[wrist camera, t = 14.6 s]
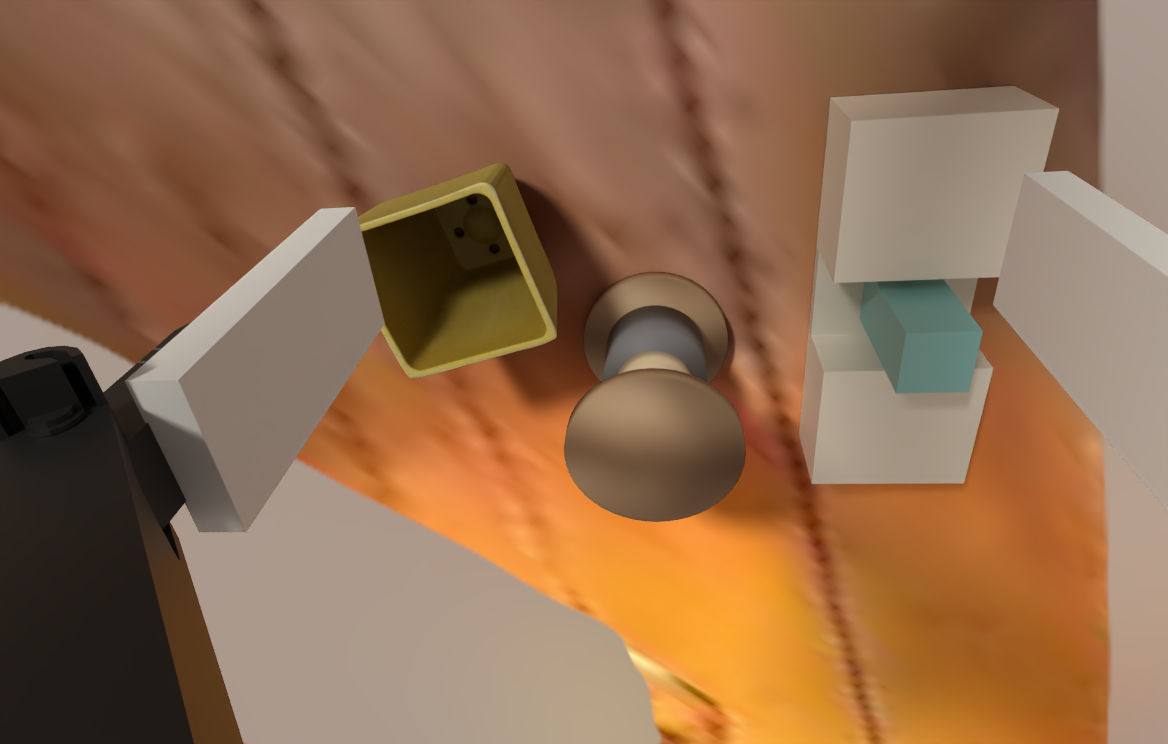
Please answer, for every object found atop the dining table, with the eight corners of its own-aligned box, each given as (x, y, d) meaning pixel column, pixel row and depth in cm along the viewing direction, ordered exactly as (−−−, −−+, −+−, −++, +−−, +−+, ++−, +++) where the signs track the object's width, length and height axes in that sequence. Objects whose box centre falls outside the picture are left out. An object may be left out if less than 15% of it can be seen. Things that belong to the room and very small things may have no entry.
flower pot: (448, 306, 47) (407, 383, 39) (384, 178, 42) (324, 236, 35) (577, 267, 44) (559, 341, 37) (522, 128, 40) (490, 179, 33)
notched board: (830, 97, 38) (851, 120, 34) (1013, 85, 37) (1059, 108, 33) (798, 435, 50) (811, 483, 45) (937, 433, 48) (964, 483, 44)
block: (866, 265, 42) (906, 333, 35) (930, 262, 41) (983, 331, 35) (859, 318, 44) (896, 393, 37) (920, 316, 43) (968, 392, 36)
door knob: (579, 274, 45) (555, 381, 34) (728, 269, 44) (749, 377, 33) (590, 396, 49) (572, 521, 39) (725, 393, 48) (742, 521, 38)
